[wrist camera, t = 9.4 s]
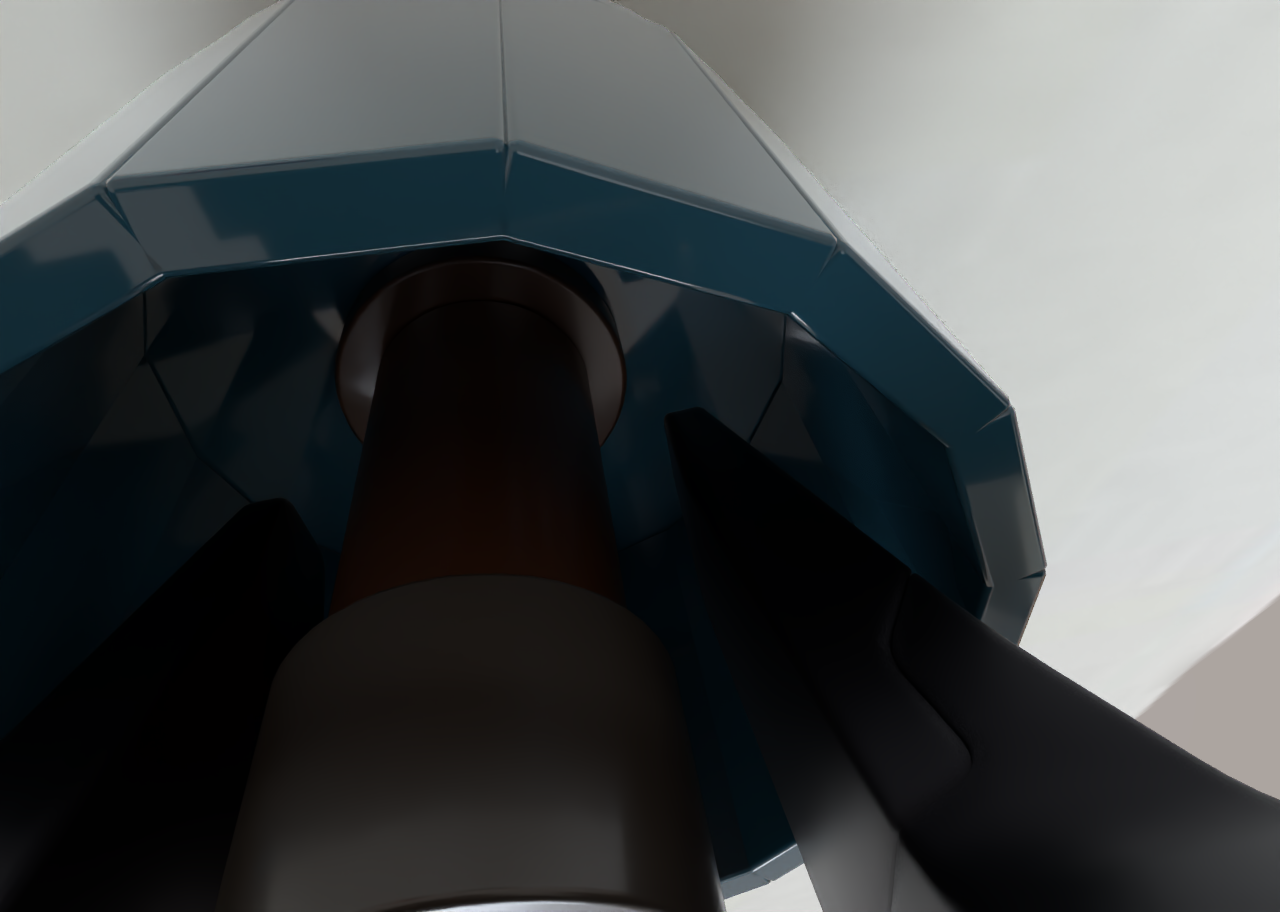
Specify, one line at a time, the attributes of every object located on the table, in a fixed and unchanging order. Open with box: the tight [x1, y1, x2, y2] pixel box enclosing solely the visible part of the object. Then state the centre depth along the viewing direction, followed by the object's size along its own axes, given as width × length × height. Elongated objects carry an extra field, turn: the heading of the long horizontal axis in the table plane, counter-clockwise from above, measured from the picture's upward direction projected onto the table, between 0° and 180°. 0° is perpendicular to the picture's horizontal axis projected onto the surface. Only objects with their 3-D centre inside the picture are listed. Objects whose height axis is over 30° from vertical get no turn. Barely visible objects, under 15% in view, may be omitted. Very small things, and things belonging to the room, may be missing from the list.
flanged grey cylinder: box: [214, 240, 726, 912], centre depth 8 cm, size 4×4×7 cm
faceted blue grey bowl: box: [0, 0, 1047, 899], centre depth 9 cm, size 9×9×6 cm
